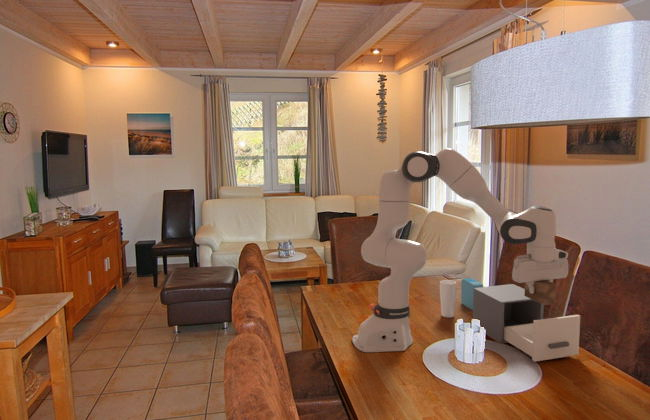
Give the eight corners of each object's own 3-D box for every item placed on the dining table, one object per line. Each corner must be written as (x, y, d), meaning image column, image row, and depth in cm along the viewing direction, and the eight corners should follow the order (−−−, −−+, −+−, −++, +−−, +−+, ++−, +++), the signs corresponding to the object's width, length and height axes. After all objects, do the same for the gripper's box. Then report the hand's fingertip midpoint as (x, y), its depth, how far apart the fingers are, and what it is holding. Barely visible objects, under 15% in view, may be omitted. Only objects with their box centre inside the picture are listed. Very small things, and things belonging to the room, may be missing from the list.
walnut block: (544, 305, 153) (545, 284, 152) (524, 295, 162) (525, 276, 161) (554, 303, 154) (555, 283, 153) (534, 294, 163) (534, 275, 162)
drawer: (537, 363, 148) (538, 323, 146) (500, 340, 166) (501, 304, 164) (581, 356, 152) (583, 317, 150) (540, 334, 170) (542, 299, 168)
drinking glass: (457, 314, 196) (457, 280, 194) (454, 319, 190) (454, 285, 188) (441, 312, 199) (441, 279, 197) (438, 317, 193) (438, 283, 191)
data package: (483, 311, 200) (484, 284, 198) (473, 311, 199) (474, 285, 197) (469, 302, 211) (470, 277, 210) (460, 303, 211) (461, 278, 209)
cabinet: (500, 343, 166) (501, 302, 164) (472, 325, 183) (473, 288, 181) (542, 337, 170) (544, 297, 168) (511, 320, 187) (512, 283, 185)
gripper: (520, 257, 150) (519, 298, 152) (572, 252, 155) (570, 291, 157) (508, 253, 156) (507, 292, 158) (558, 248, 161) (557, 286, 163)
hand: (539, 292), depth 157 cm, fingers closed on walnut block, 4 cm apart
